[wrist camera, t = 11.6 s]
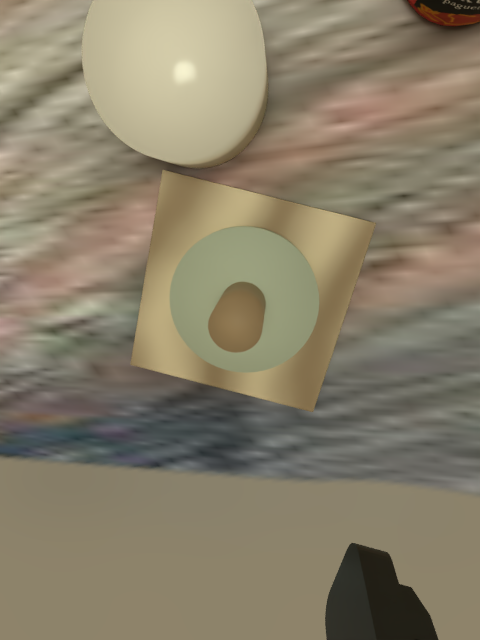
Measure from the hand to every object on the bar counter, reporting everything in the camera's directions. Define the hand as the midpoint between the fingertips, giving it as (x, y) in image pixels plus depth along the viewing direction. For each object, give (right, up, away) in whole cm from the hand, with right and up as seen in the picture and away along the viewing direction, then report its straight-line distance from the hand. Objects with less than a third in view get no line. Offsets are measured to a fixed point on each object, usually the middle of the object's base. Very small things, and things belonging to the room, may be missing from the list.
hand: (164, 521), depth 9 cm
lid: (+2, +6, +19) cm, 20 cm away
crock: (-1, +19, +16) cm, 25 cm away
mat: (+2, +6, +20) cm, 21 cm away
